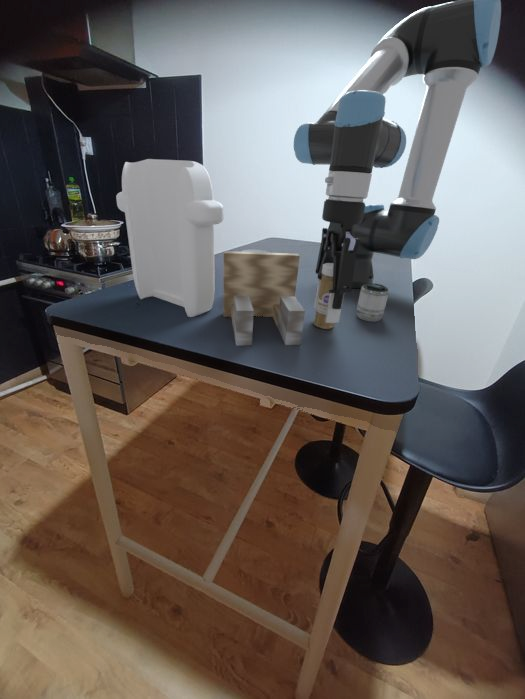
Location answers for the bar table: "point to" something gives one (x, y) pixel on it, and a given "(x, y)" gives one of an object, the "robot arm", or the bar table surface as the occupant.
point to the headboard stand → (262, 293)
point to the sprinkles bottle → (324, 297)
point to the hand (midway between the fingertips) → (325, 314)
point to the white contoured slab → (171, 231)
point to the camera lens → (372, 302)
